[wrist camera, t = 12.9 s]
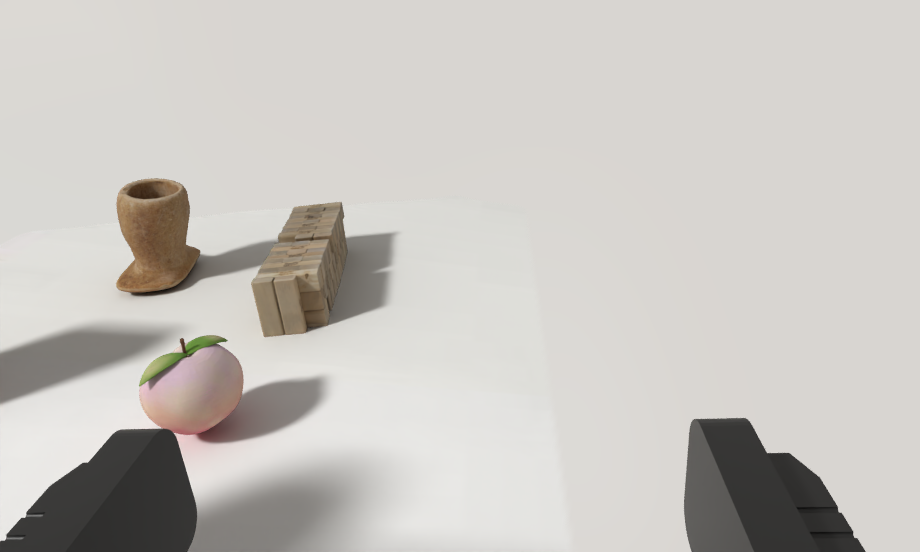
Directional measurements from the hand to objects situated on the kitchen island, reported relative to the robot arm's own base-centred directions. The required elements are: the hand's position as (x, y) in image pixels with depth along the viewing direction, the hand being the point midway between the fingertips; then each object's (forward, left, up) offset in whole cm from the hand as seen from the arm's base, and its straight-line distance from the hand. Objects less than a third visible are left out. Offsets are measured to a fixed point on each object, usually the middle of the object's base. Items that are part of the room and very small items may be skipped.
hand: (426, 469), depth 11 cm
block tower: (-82, +4, -31) cm, 88 cm away
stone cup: (-97, -16, -31) cm, 103 cm away
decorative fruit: (-52, -10, -31) cm, 61 cm away
